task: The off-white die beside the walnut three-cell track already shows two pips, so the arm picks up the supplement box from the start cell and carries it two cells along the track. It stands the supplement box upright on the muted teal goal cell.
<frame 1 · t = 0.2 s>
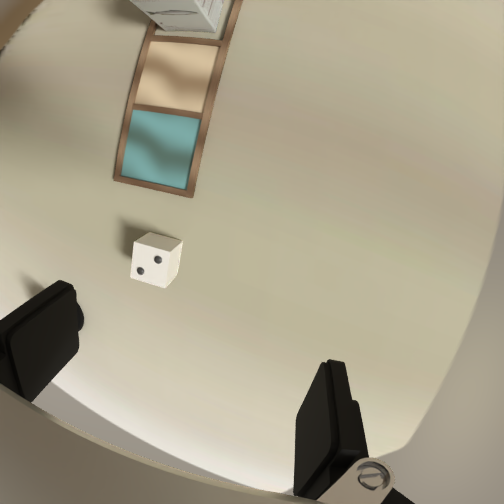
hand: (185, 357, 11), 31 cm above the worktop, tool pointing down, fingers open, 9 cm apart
board: (176, 75, 36), on the worktop
supplement box: (196, 10, 33), resting on board
die: (163, 253, 44), on the worktop
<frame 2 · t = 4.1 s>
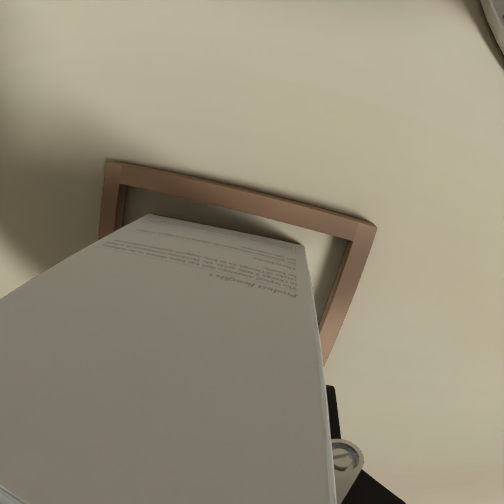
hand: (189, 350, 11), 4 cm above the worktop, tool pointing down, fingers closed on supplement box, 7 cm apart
board: (189, 431, 18), on the worktop
supplement box: (214, 300, 15), resting on board, touching gripper
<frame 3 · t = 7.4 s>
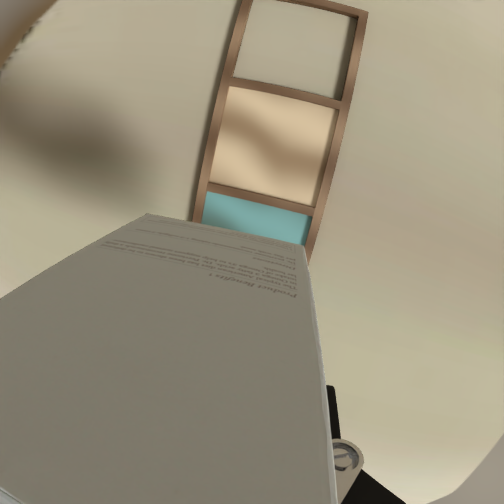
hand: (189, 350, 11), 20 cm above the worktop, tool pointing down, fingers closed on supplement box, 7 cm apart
board: (273, 144, 28), on the worktop
supplement box: (214, 300, 15), point 16 cm above the worktop, touching gripper
when the fingers open (5 cm above the worktop, at t = 11.0 s): supplement box drops 1 cm, resting on board.
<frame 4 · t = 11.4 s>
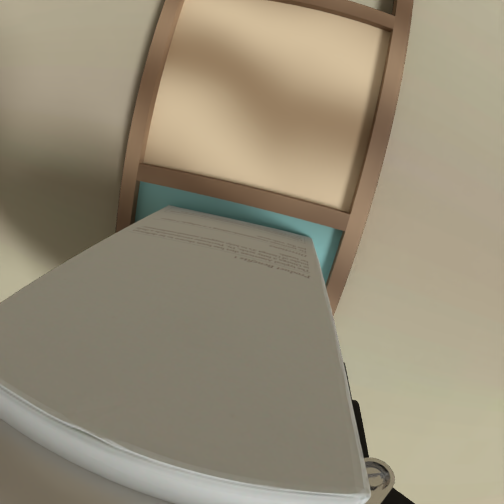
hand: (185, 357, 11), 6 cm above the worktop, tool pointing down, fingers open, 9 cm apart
board: (266, 88, 13), on the worktop
supplement box: (227, 287, 16), resting on board
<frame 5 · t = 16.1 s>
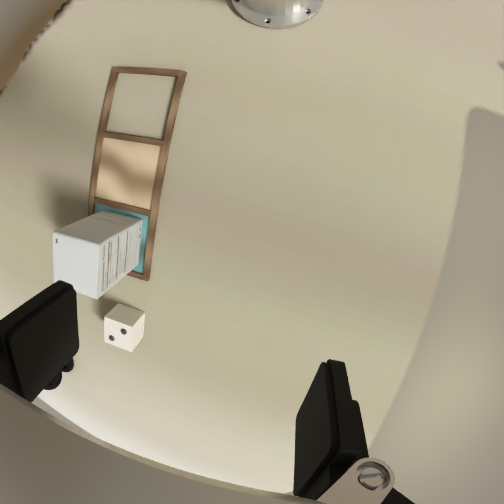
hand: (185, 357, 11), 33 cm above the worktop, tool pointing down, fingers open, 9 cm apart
board: (127, 172, 43), on the worktop
webcam: (61, 355, 57), on the worktop
supplement box: (121, 237, 46), resting on board
die: (130, 319, 51), on the worktop
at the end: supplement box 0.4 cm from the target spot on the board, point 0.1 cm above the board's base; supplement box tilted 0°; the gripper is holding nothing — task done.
